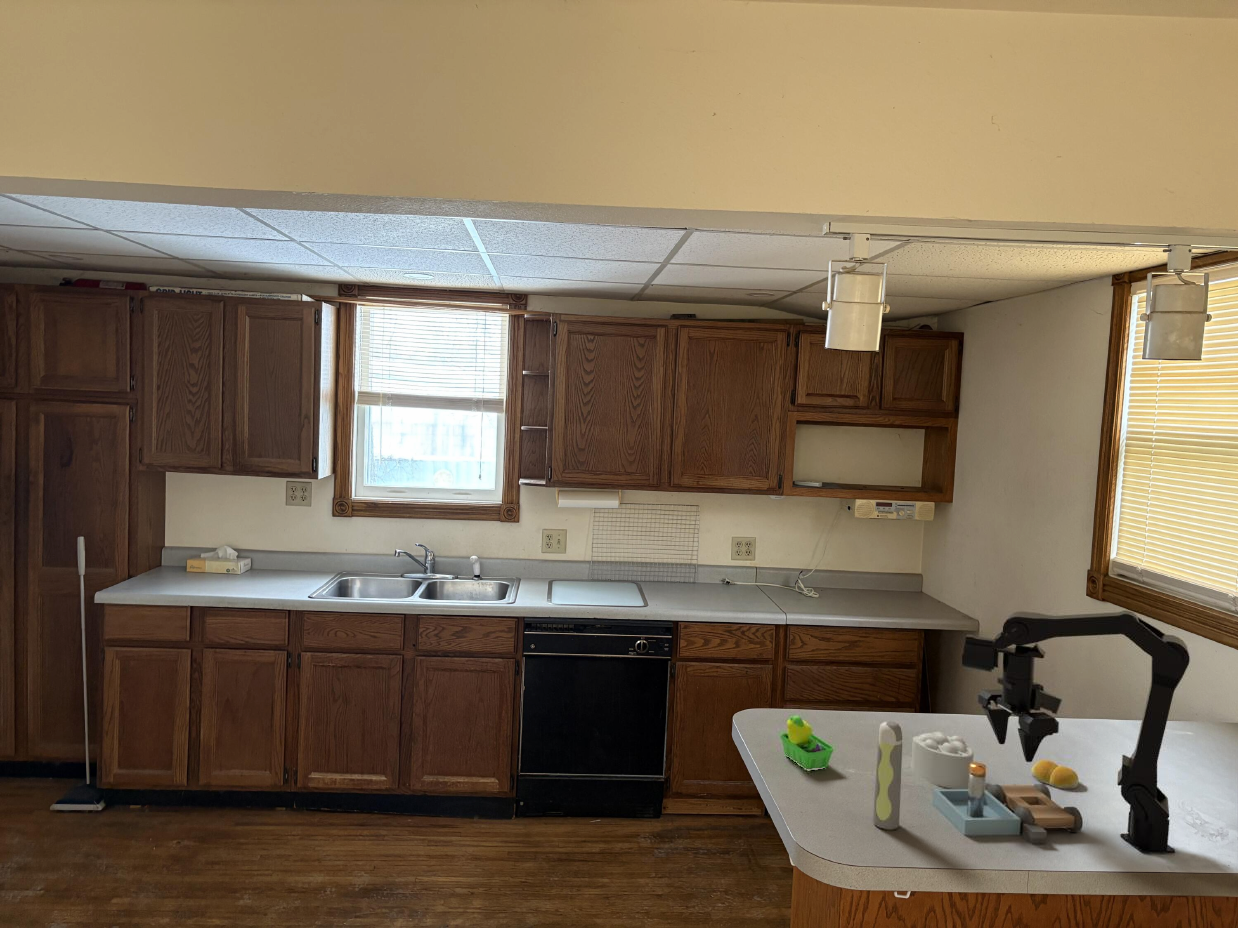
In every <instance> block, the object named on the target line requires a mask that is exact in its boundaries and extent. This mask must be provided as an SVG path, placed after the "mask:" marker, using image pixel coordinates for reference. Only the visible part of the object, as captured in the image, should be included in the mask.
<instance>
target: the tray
mask: <svg viewBox="0 0 1238 928" xmlns="http://www.w3.org/2000/svg"><path fill="white" fill-rule="evenodd" d="M967 801H968V789H951V788H946V789H944V788H943V789H936V788H935V789H932V805H933V806H934V807H935V808H936V809H937V810H938V811H939V812H940V813H941V814H942V815H943V816H944V817H945V818H946V819H947V820H948V821H949V822H950V823H951V824H952V825H953V826H954V827H955V828H956V829H957V830H958V831H959V832H960V833H961V834H962V835H963V836H1015V835H1017V836H1020V835H1021V831H1020V822H1021V819H1020V818H1018V817H1017V816H1016V815H1015V814H1014V811H1013V812H1012V810H1011V809H1009V807H1008V806H1006V805H1005V804H1004V805H1003V804H1002V803H1001V802H999V801H998V800H997V799H996V798H995V797H994V796H992V795H991V794H990V793H989V792H988V791H987V789H985V797H984V813H983V818H973V817H970V816H968V815H967Z"/></svg>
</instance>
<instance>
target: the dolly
mask: <svg viewBox="0 0 1238 928" xmlns="http://www.w3.org/2000/svg"><path fill="white" fill-rule="evenodd" d="M986 791H988V792H989V793H990V794H991V795H992V796H994V797H995V798H996V799H997V800H998V801H999V802H1001V803H1002V804H1003V805H1004V806H1006V807H1007V808H1010V810H1011V811H1013V813H1014V814H1015V815H1016V816H1017V817H1018V818H1020V819H1021V822H1020V833H1022V837H1023V838H1024V839H1025V841H1027V842H1028V843H1029V844H1031V845H1047V835H1048V832H1047V831H1046V830H1045V829H1060V828H1061V829H1066V830H1067V831H1069V832H1081V831H1082V828H1083V825H1084V823H1083V816H1082V814H1081V811H1080V810H1079V808H1077V807H1076V806H1064V807H1062V806H1060V805H1059V804H1058V803H1056V802H1055V801H1053V800H1052V795H1051V792H1050V789H1049V787H1048V786H1047V784H1045V783H1036V784H1034V785H1033V784H1021V785H1019V784H1014V785H1013V784H1011V785H1009V784H1007V785H1006V784H1005V785H1003V784H1002V785H1001V784H988V786H987V788H986Z"/></svg>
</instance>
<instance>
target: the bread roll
mask: <svg viewBox="0 0 1238 928" xmlns="http://www.w3.org/2000/svg"><path fill="white" fill-rule="evenodd" d="M1030 773H1031V776H1032V777H1033V778H1034V779H1035V780H1037V781H1039V782H1040V783H1041V784H1044V785H1050V786H1051V787H1054V788H1057V789H1074V788H1076V787H1077V786H1078V785H1079V777H1078V773H1077V772H1076V771H1075V770H1073V769H1072V768H1069V767H1068V766H1064V765H1058V764H1057V763H1055V762H1054V761H1051V760H1048V759H1047V760H1046V759H1043V760H1039V761H1038V762H1036V763H1035V764H1034V765H1032V767H1031V770H1030Z"/></svg>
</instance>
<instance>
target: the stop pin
mask: <svg viewBox="0 0 1238 928" xmlns="http://www.w3.org/2000/svg"><path fill="white" fill-rule="evenodd" d="M986 777H987V765H986V764H984V763H982V762H977V761H973V762H971V763H970V769H969V785H968V801H967V815H968V816H970V817H973V818H983V813H984V797H985V790H986V781H987V780H986Z"/></svg>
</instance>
